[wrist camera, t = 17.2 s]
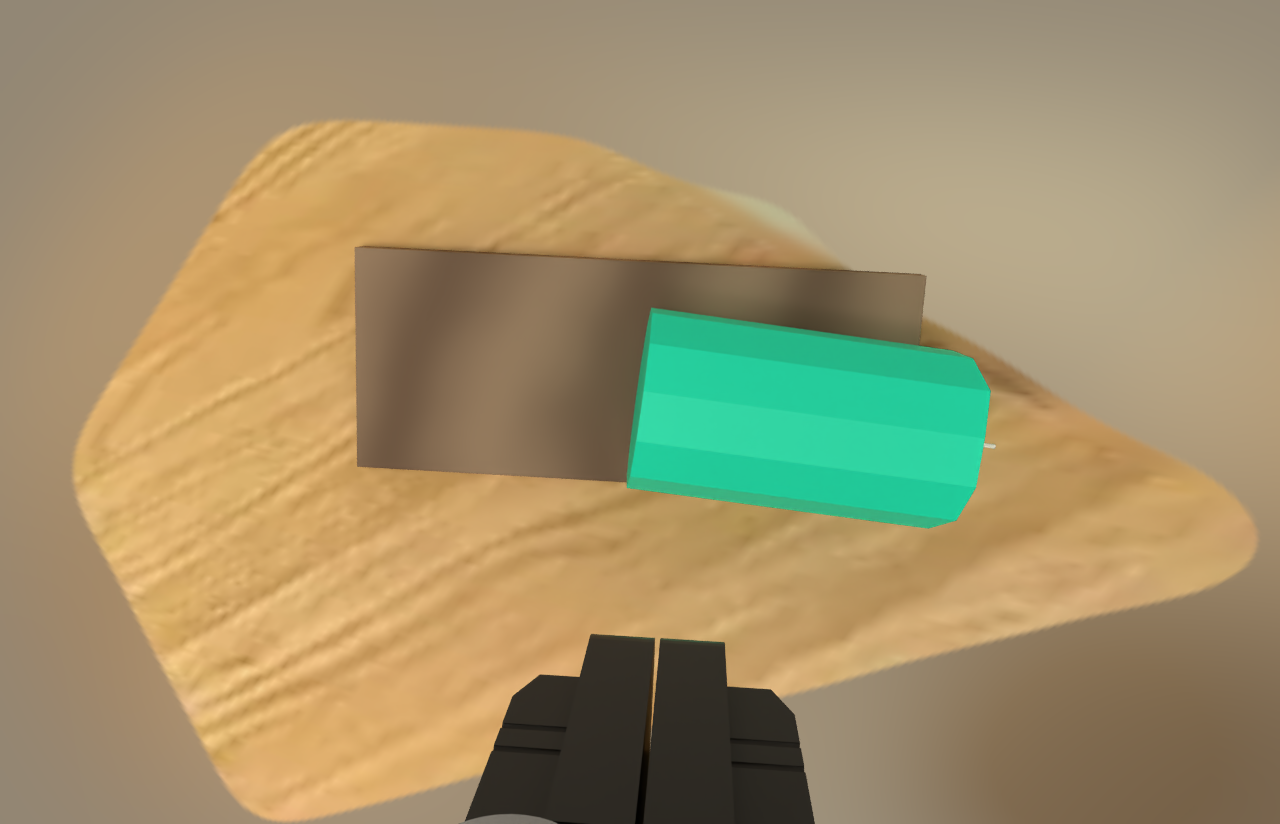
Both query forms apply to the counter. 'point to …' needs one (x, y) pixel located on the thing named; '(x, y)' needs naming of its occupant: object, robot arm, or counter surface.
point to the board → (559, 348)
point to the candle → (806, 420)
